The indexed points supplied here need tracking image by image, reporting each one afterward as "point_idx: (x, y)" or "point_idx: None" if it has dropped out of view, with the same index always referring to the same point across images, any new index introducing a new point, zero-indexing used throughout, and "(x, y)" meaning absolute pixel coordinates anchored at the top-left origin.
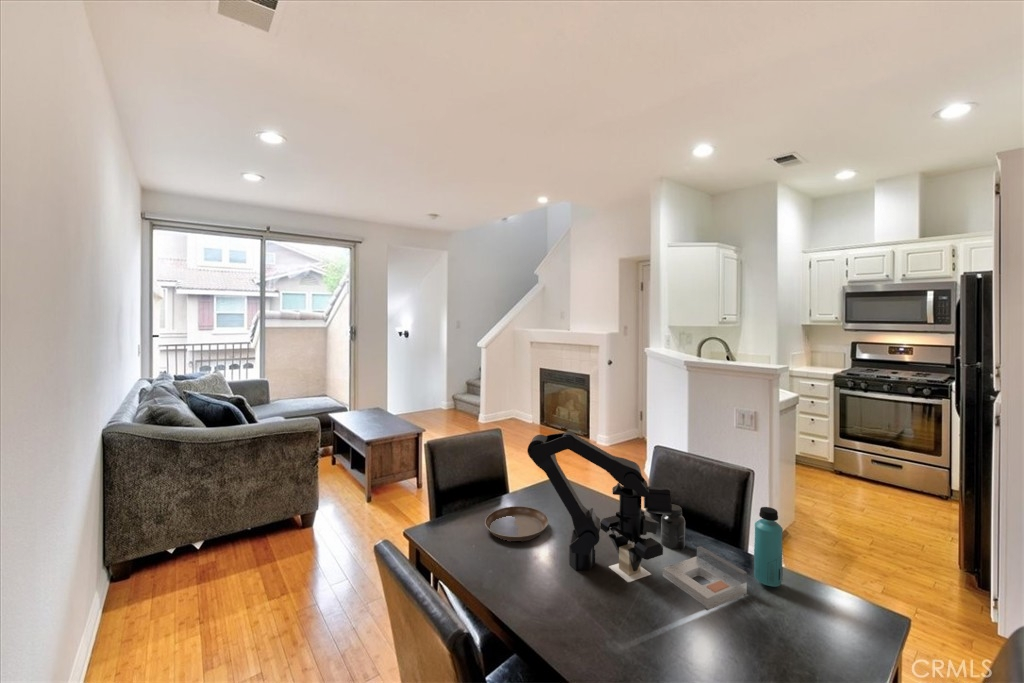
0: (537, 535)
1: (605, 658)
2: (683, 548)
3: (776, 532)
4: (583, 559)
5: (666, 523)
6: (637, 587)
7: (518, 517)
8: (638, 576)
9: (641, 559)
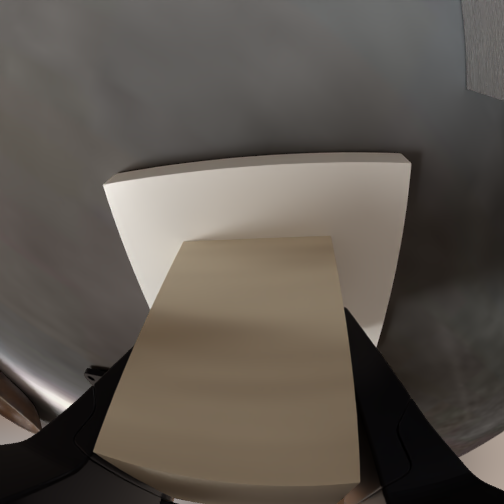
0: (3, 384)
1: (475, 441)
2: None
3: None
4: None
5: None
6: (415, 318)
7: None
8: (369, 286)
9: (415, 407)
